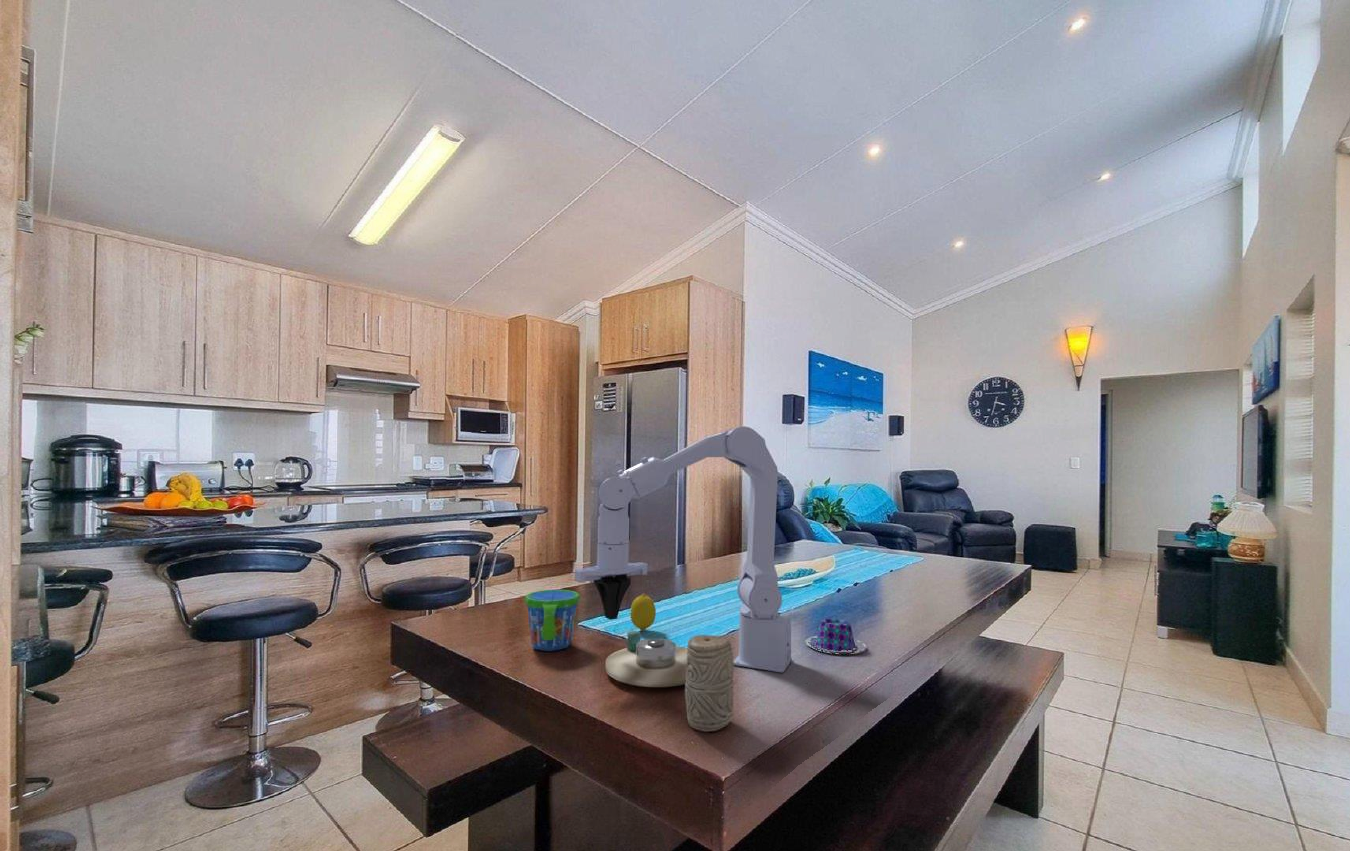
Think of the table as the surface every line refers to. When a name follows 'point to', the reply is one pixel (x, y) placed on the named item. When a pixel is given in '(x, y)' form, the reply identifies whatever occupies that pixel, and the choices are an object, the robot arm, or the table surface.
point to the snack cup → (551, 618)
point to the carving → (709, 682)
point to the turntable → (627, 670)
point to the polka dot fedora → (835, 636)
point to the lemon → (643, 612)
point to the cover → (655, 653)
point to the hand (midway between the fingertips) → (611, 618)
